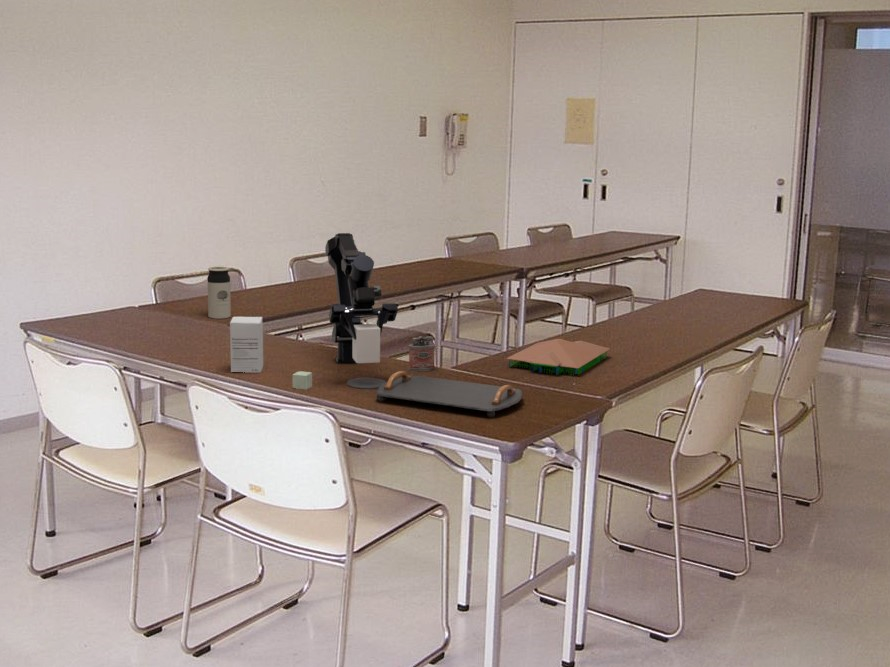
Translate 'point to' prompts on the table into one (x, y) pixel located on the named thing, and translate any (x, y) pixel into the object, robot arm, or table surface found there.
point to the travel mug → (219, 293)
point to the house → (560, 355)
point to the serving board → (449, 392)
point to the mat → (365, 383)
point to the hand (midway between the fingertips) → (367, 338)
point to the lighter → (421, 354)
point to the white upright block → (366, 344)
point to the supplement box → (246, 344)
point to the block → (302, 380)
